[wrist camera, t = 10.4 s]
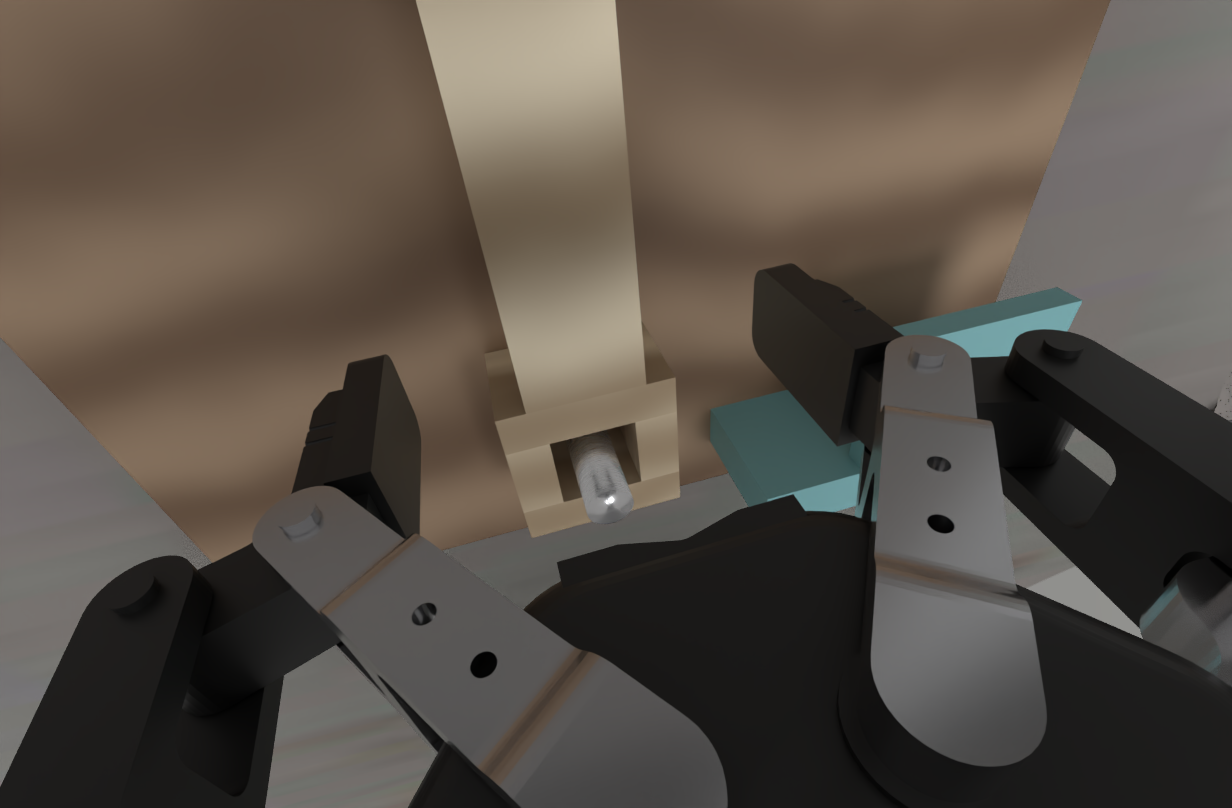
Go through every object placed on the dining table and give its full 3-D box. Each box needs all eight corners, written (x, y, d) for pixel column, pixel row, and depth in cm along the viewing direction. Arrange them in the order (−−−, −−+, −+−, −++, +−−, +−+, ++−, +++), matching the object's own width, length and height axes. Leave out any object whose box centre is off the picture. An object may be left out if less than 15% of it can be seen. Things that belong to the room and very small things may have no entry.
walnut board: (937, 399, 31) (953, 412, 30) (255, 579, 26) (249, 602, 25) (1196, -337, 15) (1246, -357, 14) (-465, -232, 10) (-553, -251, 9)
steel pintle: (595, 409, 24) (635, 516, 19) (558, 418, 24) (590, 529, 19) (590, 379, 23) (631, 485, 18) (551, 388, 23) (583, 497, 18)
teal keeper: (924, 385, 28) (1012, 460, 24) (710, 440, 27) (763, 532, 23) (973, 235, 23) (1094, 297, 19) (712, 293, 22) (782, 375, 18)
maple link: (649, 432, 25) (680, 497, 22) (518, 466, 25) (531, 538, 22) (603, -128, 14) (654, -151, 11) (348, -99, 13) (324, -115, 10)
